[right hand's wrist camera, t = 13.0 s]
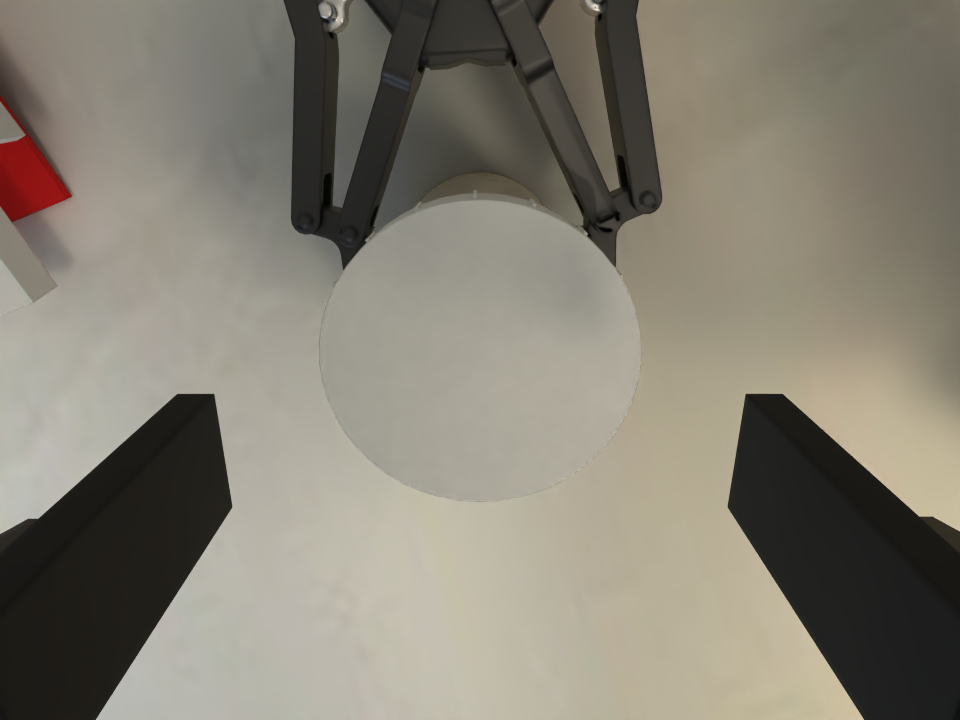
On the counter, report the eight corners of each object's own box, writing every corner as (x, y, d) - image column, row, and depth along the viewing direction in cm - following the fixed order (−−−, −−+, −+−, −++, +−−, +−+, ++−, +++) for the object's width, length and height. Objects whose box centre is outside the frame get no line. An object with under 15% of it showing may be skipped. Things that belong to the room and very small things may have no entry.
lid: (273, 369, 20) (255, 390, 18) (453, 120, 18) (451, 119, 16) (501, 521, 22) (502, 553, 21) (693, 319, 20) (712, 337, 18)
